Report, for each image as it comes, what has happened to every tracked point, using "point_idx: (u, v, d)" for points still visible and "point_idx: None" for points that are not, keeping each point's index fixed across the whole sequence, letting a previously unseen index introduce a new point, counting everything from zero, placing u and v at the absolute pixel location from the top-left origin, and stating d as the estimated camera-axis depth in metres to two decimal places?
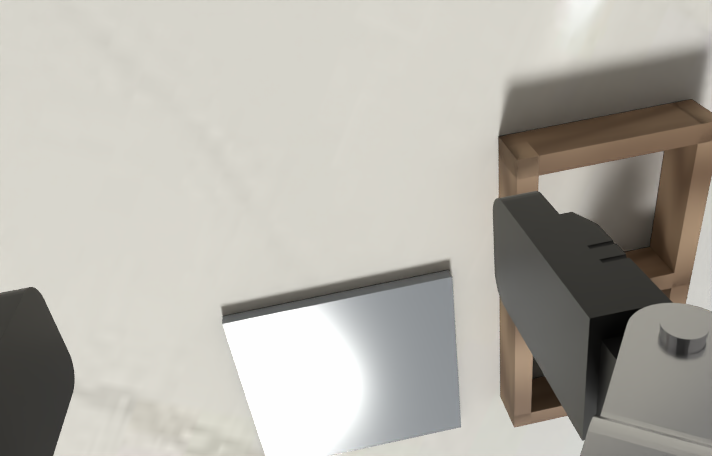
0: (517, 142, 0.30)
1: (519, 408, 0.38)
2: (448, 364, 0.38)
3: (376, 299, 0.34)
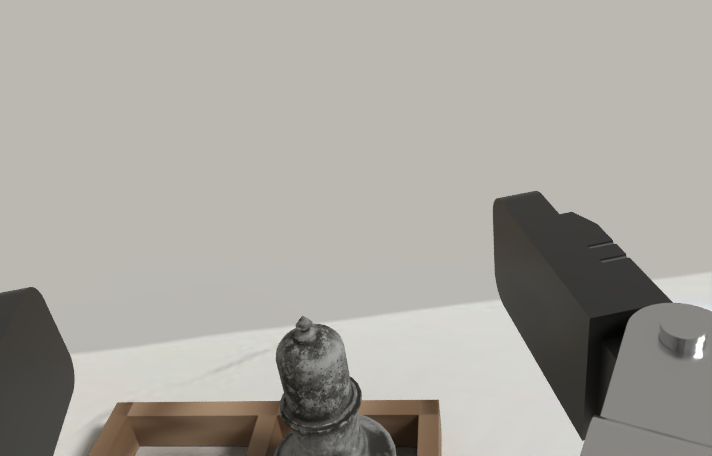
0: None
1: None
2: None
3: None
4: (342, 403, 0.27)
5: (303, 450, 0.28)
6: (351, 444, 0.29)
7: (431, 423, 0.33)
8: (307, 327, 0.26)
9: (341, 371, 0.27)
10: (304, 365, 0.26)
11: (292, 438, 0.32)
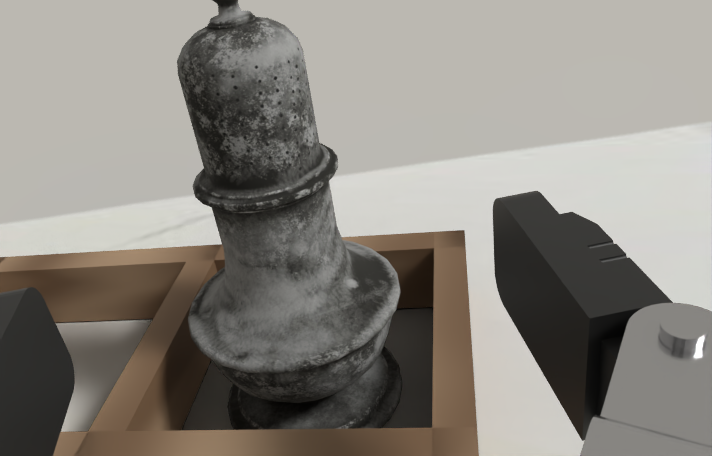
0: None
1: (404, 452, 0.14)
2: None
3: None
4: (300, 157, 0.15)
5: (236, 257, 0.16)
6: (321, 249, 0.16)
7: (455, 257, 0.21)
8: None
9: (296, 89, 0.14)
10: (223, 57, 0.14)
11: None
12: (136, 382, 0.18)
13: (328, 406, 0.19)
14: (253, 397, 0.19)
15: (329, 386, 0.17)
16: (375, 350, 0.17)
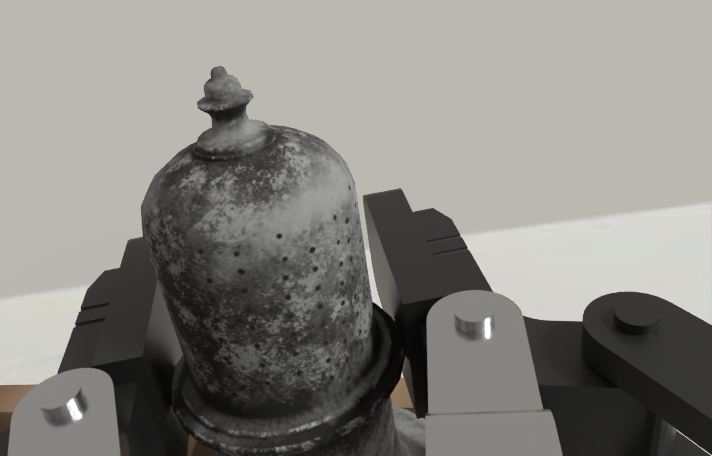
0: None
1: None
2: None
3: None
4: (349, 361, 0.09)
5: None
6: None
7: None
8: (233, 101, 0.08)
9: (346, 258, 0.08)
10: (219, 221, 0.07)
11: None
12: None
13: None
14: None
15: None
16: None
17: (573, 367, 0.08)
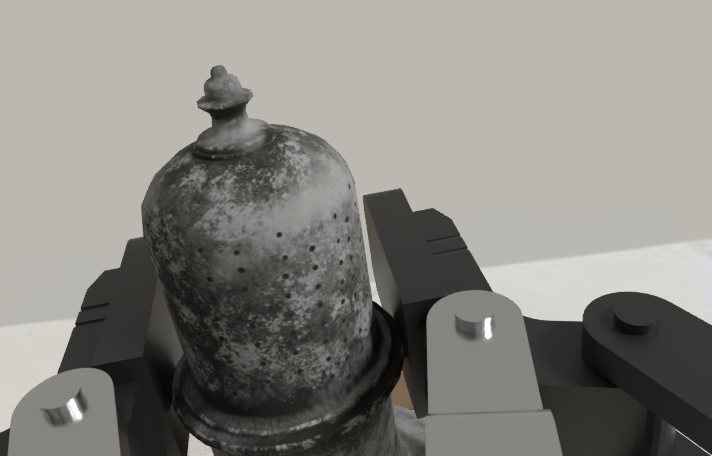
0: None
1: None
2: None
3: None
4: (349, 359, 0.09)
5: None
6: None
7: None
8: (233, 100, 0.08)
9: (346, 256, 0.08)
10: (219, 219, 0.07)
11: None
12: None
13: None
14: None
15: None
16: None
17: (573, 367, 0.08)
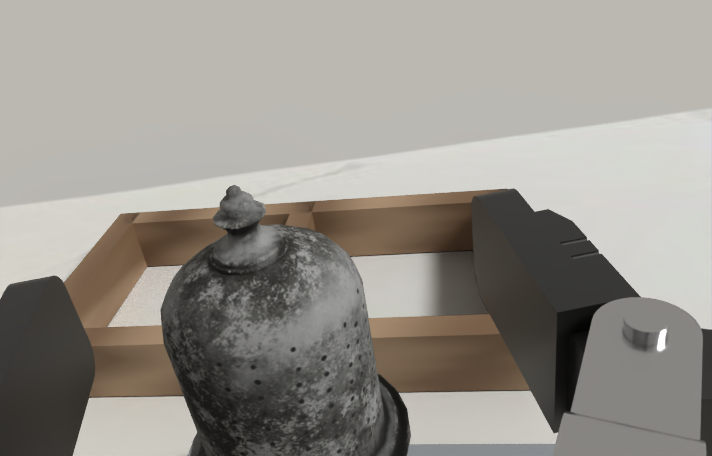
0: None
1: (481, 328, 0.21)
2: None
3: None
4: (358, 448, 0.09)
5: None
6: None
7: None
8: (248, 219, 0.08)
9: (355, 358, 0.09)
10: (237, 337, 0.08)
11: None
12: None
13: None
14: None
15: None
16: None
17: None
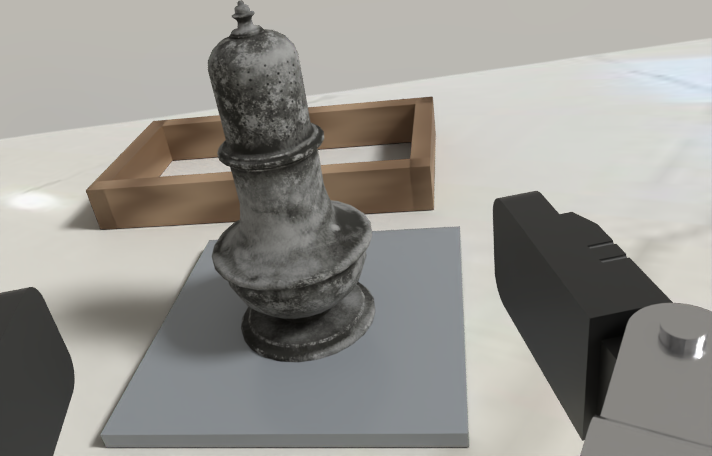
0: None
1: (397, 165, 0.32)
2: None
3: (191, 290, 0.28)
4: (296, 130, 0.21)
5: (249, 206, 0.22)
6: (312, 200, 0.22)
7: (426, 106, 0.38)
8: (246, 14, 0.20)
9: (293, 81, 0.20)
10: (241, 59, 0.19)
11: None
12: None
13: (318, 324, 0.24)
14: (260, 320, 0.25)
15: (318, 303, 0.23)
16: (353, 277, 0.23)
17: None
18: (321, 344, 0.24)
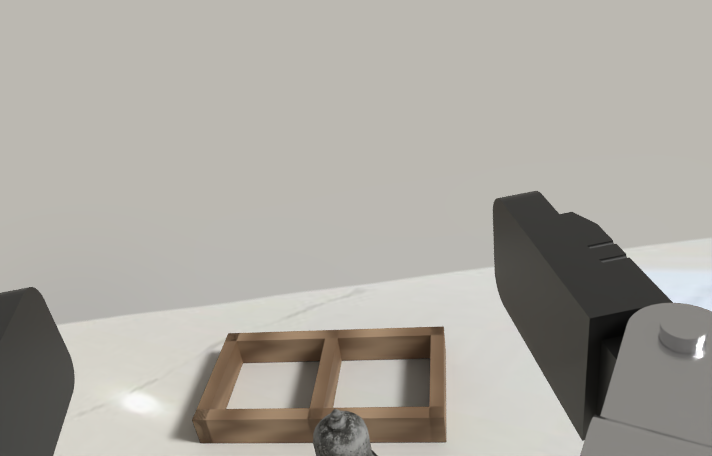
0: None
1: (420, 414, 0.45)
2: None
3: None
4: None
5: None
6: None
7: (439, 340, 0.51)
8: (339, 417, 0.33)
9: (365, 451, 0.33)
10: (337, 448, 0.32)
11: None
12: (321, 391, 0.48)
13: None
14: None
15: None
16: None
17: None
18: None
